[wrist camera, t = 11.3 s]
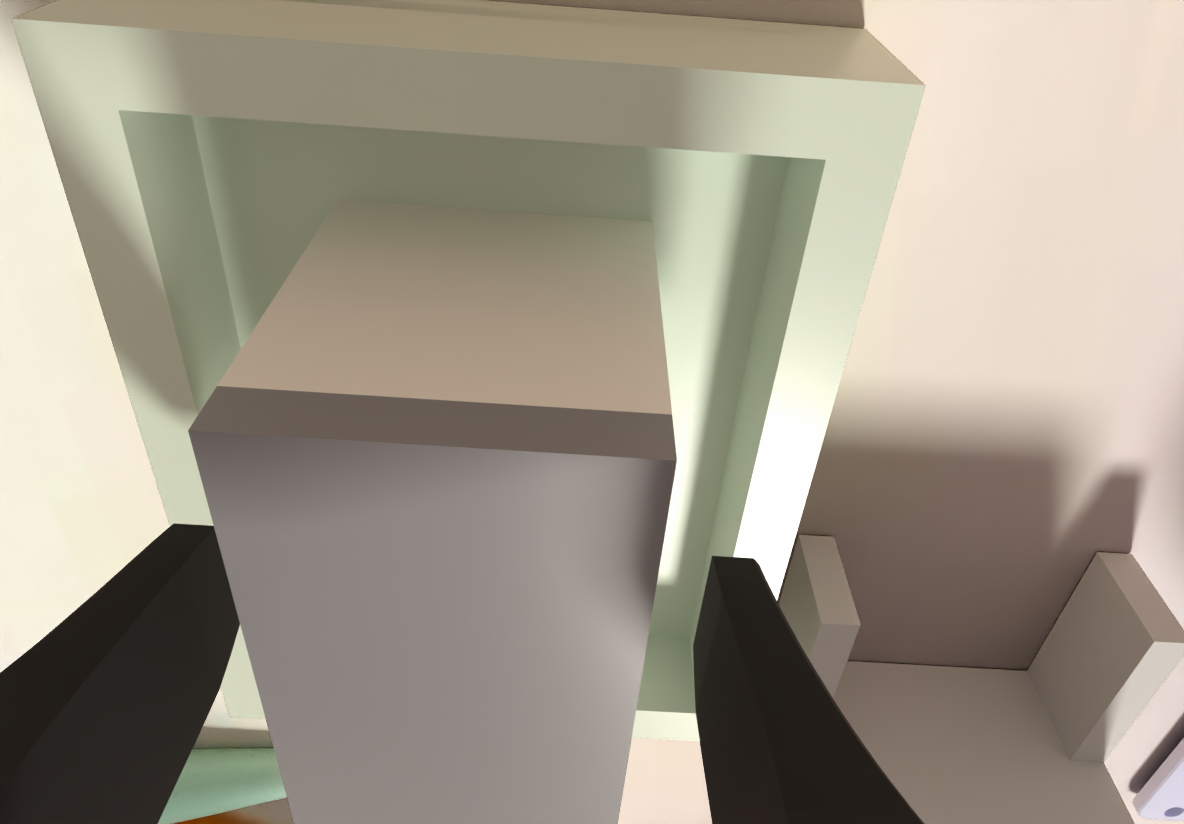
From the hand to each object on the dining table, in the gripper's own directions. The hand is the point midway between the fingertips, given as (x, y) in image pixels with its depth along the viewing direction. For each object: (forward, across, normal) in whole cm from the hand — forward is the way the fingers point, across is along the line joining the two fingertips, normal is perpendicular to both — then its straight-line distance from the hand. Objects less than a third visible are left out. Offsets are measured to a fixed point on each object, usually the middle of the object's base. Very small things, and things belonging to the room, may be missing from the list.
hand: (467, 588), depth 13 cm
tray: (+5, 0, 0) cm, 5 cm away
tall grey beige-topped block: (+4, 0, 0) cm, 4 cm away
